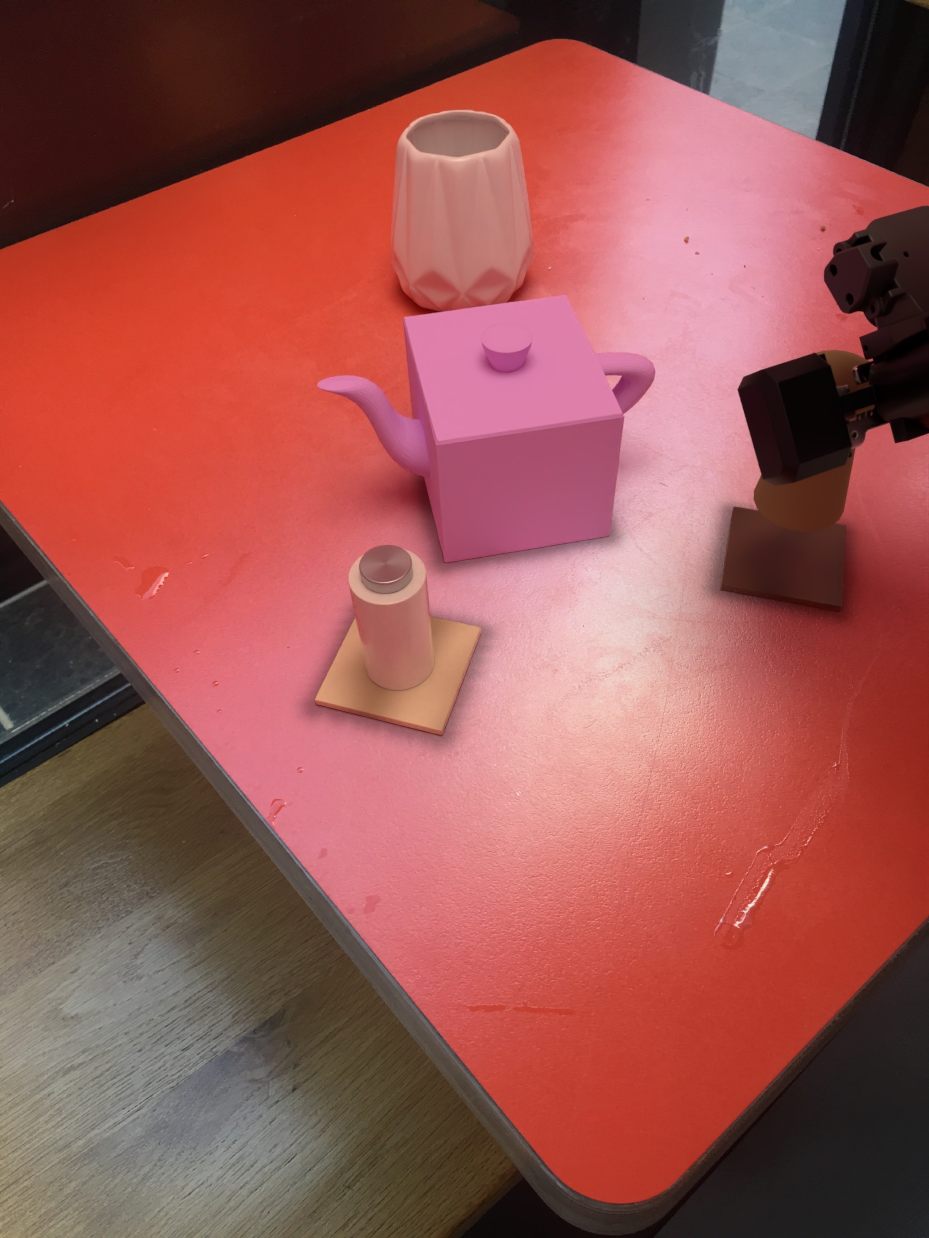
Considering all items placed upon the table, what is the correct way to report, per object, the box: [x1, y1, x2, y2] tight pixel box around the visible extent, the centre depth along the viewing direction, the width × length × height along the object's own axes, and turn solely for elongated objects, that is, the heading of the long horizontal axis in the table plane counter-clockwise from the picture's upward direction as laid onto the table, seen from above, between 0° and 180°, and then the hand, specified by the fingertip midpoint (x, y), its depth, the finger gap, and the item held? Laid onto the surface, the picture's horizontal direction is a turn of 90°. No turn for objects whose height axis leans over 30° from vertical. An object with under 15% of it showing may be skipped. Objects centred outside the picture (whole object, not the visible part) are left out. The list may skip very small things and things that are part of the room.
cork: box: [753, 349, 875, 532], centre depth 60 cm, size 6×6×11 cm
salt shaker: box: [347, 544, 435, 690], centre depth 60 cm, size 5×5×10 cm
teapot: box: [316, 294, 656, 564], centre depth 70 cm, size 15×25×14 cm, turn 101°
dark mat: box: [720, 506, 847, 612], centre depth 69 cm, size 8×8×1 cm
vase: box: [390, 109, 535, 312], centre depth 89 cm, size 14×14×15 cm
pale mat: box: [314, 615, 482, 736], centre depth 64 cm, size 9×9×1 cm
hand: (810, 411), depth 60 cm, fingers closed on cork, 5 cm apart
